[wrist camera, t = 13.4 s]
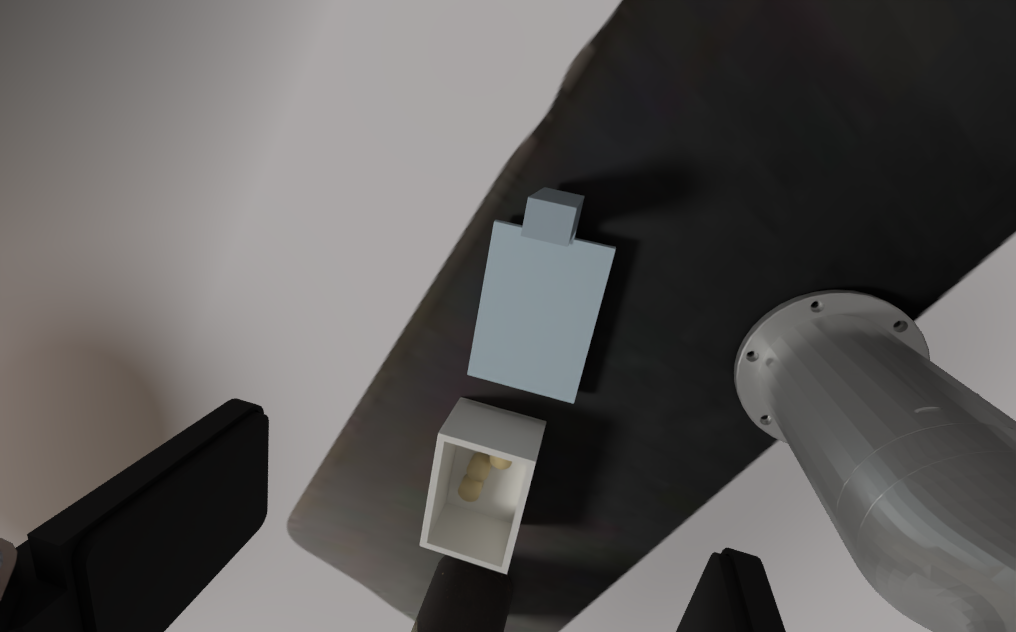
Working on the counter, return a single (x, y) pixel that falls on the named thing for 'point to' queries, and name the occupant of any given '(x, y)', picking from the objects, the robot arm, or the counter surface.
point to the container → (465, 599)
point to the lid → (540, 299)
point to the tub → (480, 483)
